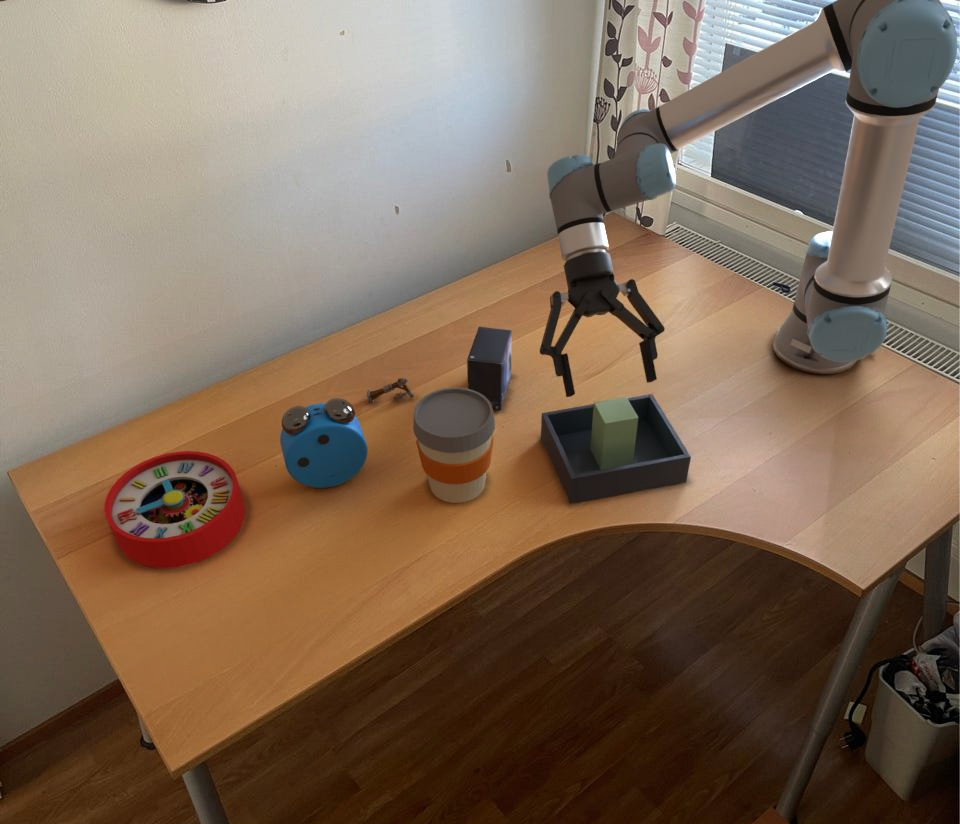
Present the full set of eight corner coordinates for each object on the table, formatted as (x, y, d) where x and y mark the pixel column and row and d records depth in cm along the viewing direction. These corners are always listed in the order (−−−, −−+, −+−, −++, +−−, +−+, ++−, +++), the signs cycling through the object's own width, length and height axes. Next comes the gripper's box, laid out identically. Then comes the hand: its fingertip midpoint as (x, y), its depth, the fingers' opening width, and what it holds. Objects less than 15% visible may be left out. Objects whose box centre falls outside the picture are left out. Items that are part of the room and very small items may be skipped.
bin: (649, 419, 157) (652, 393, 154) (686, 482, 146) (691, 456, 142) (540, 438, 155) (541, 412, 151) (570, 504, 143) (571, 478, 139)
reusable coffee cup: (480, 518, 141) (477, 446, 131) (406, 500, 145) (398, 428, 134) (506, 467, 150) (505, 395, 139) (436, 451, 153) (430, 379, 142)
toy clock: (255, 509, 136) (122, 561, 129) (263, 536, 140) (134, 587, 133) (214, 435, 148) (91, 478, 142) (222, 462, 152) (103, 505, 146)
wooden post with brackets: (417, 397, 162) (405, 379, 159) (378, 413, 164) (366, 395, 161) (417, 391, 163) (405, 372, 160) (379, 406, 166) (366, 389, 163)
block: (621, 443, 152) (626, 396, 145) (632, 464, 148) (638, 417, 141) (590, 449, 151) (593, 402, 144) (600, 470, 148) (605, 423, 140)
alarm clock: (365, 456, 152) (353, 385, 142) (372, 480, 148) (361, 408, 138) (287, 473, 150) (270, 402, 139) (293, 498, 146) (276, 427, 135)
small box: (503, 412, 160) (502, 363, 152) (467, 408, 161) (464, 360, 154) (513, 376, 167) (513, 328, 160) (478, 373, 168) (477, 325, 161)
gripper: (652, 252, 149) (676, 378, 149) (506, 275, 146) (531, 404, 146) (668, 238, 142) (693, 371, 142) (514, 262, 138) (541, 398, 138)
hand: (611, 388), depth 144 cm, fingers open, 13 cm apart
